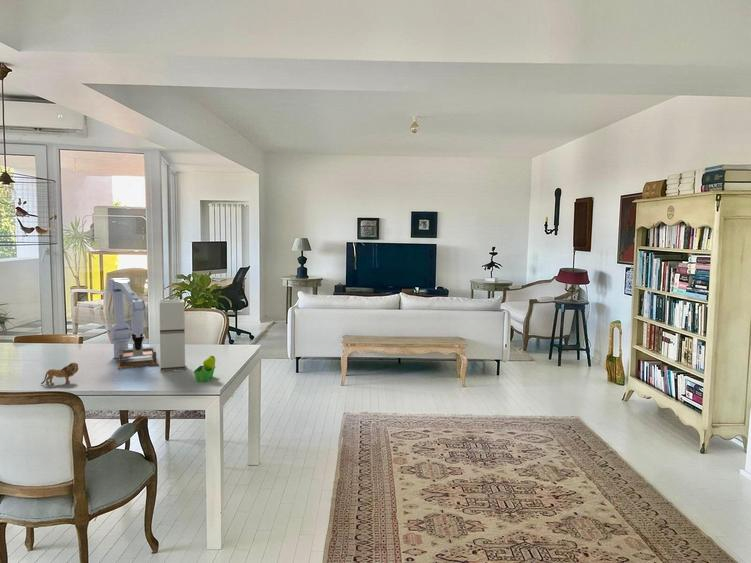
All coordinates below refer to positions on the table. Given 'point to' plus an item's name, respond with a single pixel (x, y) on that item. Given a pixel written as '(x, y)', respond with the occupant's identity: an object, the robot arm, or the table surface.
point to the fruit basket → (205, 370)
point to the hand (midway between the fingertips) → (137, 348)
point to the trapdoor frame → (137, 361)
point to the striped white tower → (172, 335)
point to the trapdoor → (129, 353)
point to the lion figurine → (61, 373)
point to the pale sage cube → (137, 352)
